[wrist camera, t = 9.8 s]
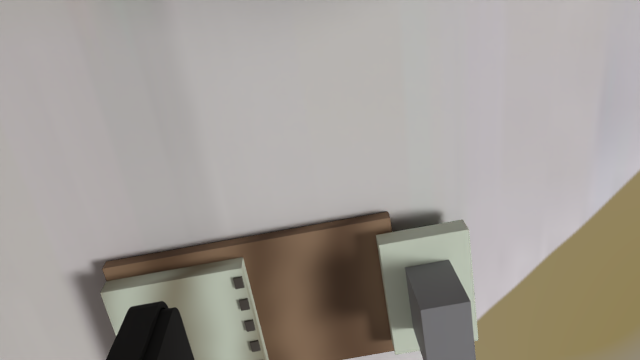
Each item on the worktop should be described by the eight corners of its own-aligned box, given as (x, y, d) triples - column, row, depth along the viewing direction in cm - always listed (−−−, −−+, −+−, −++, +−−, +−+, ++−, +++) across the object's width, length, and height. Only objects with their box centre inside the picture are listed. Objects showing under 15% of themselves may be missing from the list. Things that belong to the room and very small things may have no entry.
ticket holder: (387, 211, 41) (394, 228, 38) (405, 339, 45) (413, 363, 42) (106, 261, 41) (94, 281, 39) (149, 384, 45) (141, 410, 43)
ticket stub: (462, 219, 40) (493, 267, 34) (472, 327, 43) (502, 389, 37) (375, 234, 40) (391, 286, 34) (392, 341, 43) (408, 405, 37)
